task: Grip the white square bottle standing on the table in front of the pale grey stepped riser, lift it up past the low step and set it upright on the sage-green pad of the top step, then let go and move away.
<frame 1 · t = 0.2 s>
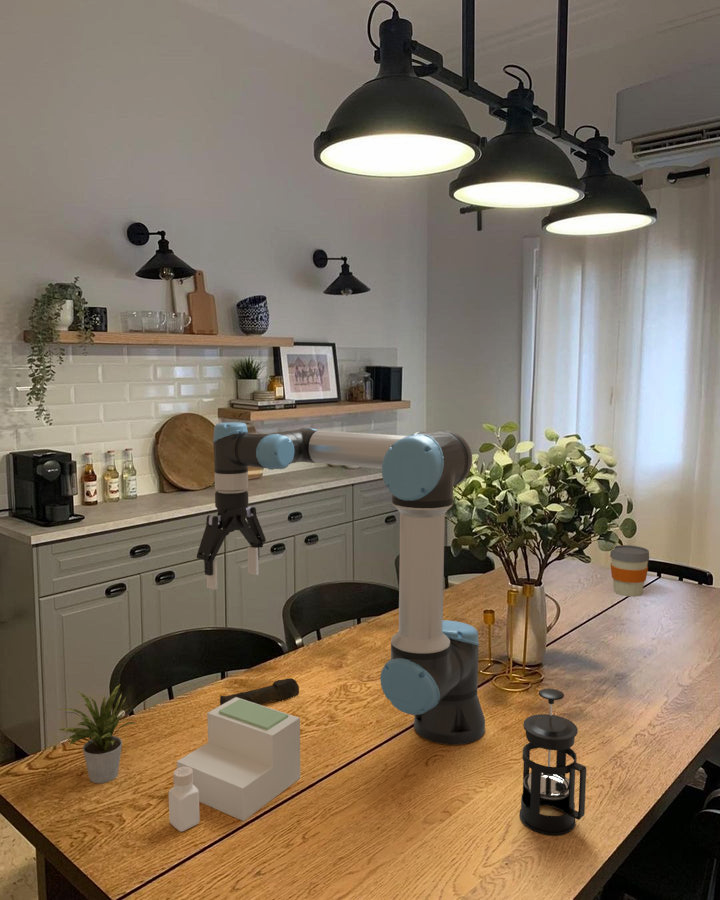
hand: (233, 581, 173), 28 cm above the table, tool pointing down, fingers open, 13 cm apart
reusable coffee cup: (627, 593, 256), on the table
french press: (549, 821, 129), on the table
white square bottle: (184, 824, 128), on the table
stepped riser: (240, 784, 140), on the table
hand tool: (260, 704, 173), on the table
house plant: (103, 773, 144), on the table
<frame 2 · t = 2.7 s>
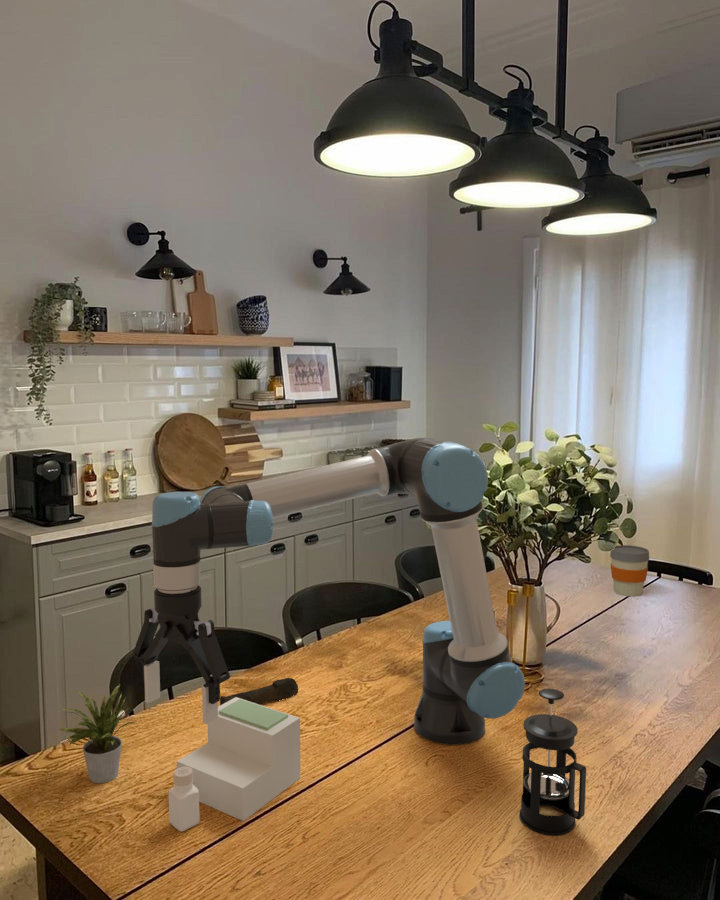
hand: (180, 710, 126), 20 cm above the table, tool pointing down, fingers open, 13 cm apart
nothing on the table moved.
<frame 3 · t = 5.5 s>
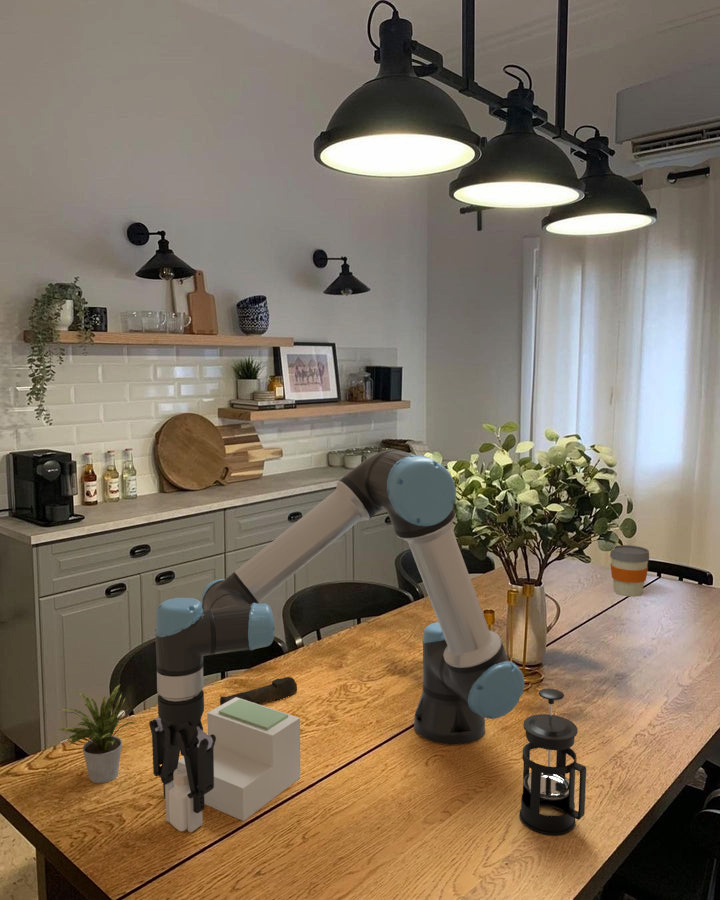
hand: (184, 822, 128), 0 cm above the table, tool pointing down, fingers closed on white square bottle, 4 cm apart
white square bottle: (184, 824, 128), on the table, touching gripper
everything else where it was.
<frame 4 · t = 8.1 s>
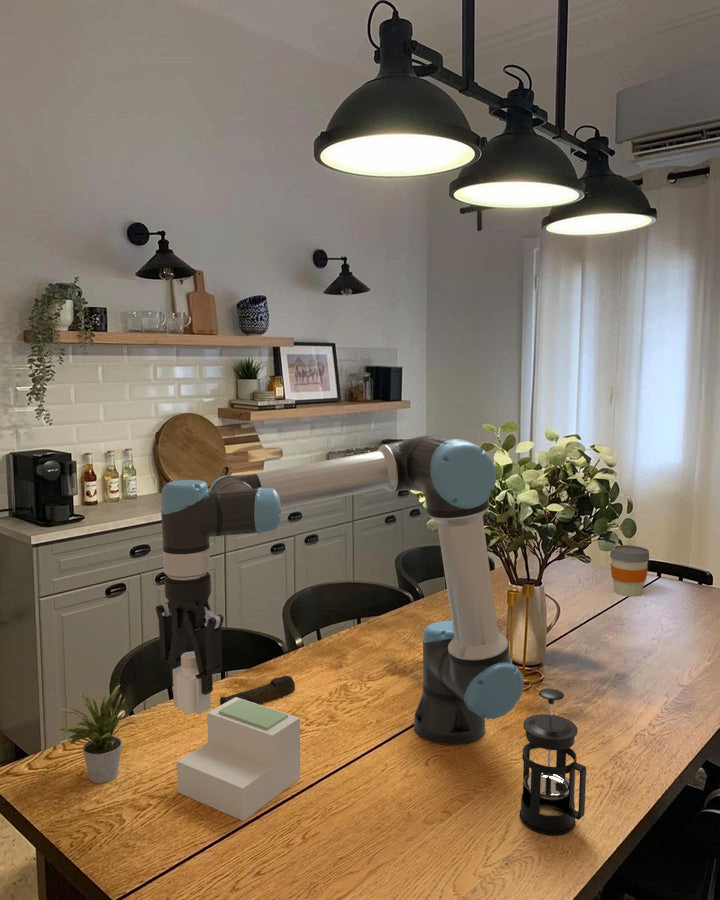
hand: (192, 706, 127), 20 cm above the table, tool pointing down, fingers closed on white square bottle, 4 cm apart
white square bottle: (192, 709, 127), point 20 cm above the table, touching gripper
everything else where it was.
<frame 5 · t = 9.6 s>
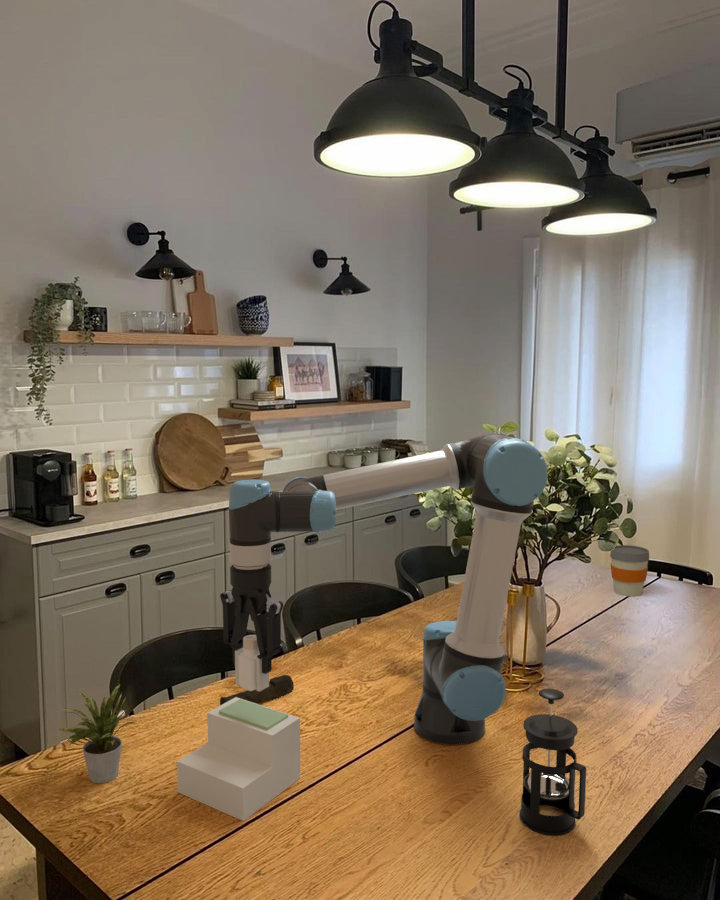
hand: (252, 684, 141), 18 cm above the table, tool pointing down, fingers closed on white square bottle, 4 cm apart
white square bottle: (252, 687, 141), point 18 cm above the table, touching gripper
when the fingers open (14 cm above the table, at t = 10.8 s): white square bottle drops 1 cm, resting on stepped riser.
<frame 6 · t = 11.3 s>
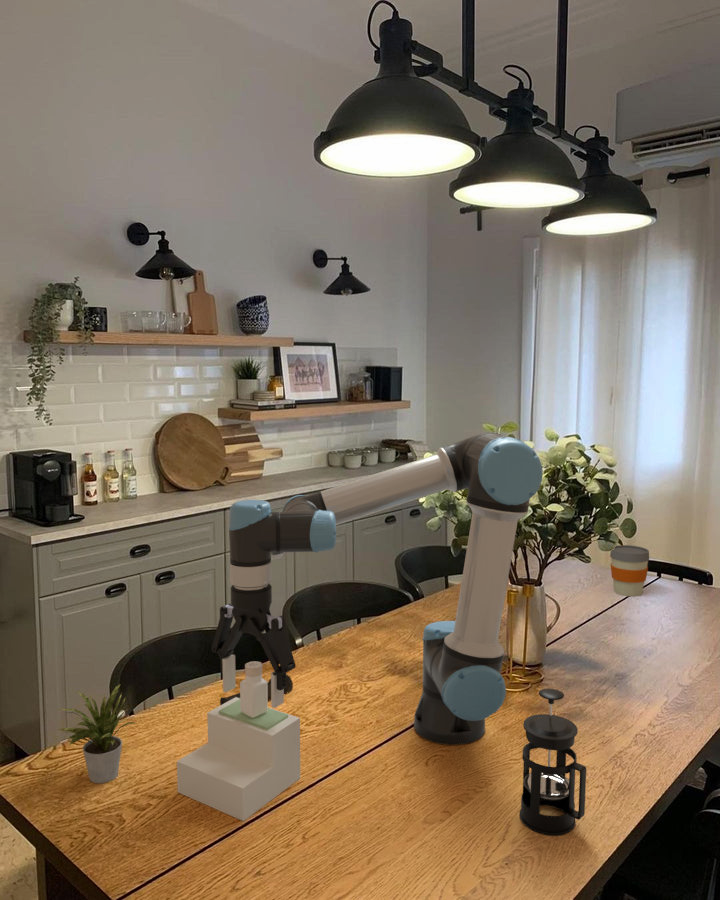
hand: (252, 697, 141), 16 cm above the table, tool pointing down, fingers open, 11 cm apart
white square bottle: (254, 713, 141), point 12 cm above the table, touching stepped riser
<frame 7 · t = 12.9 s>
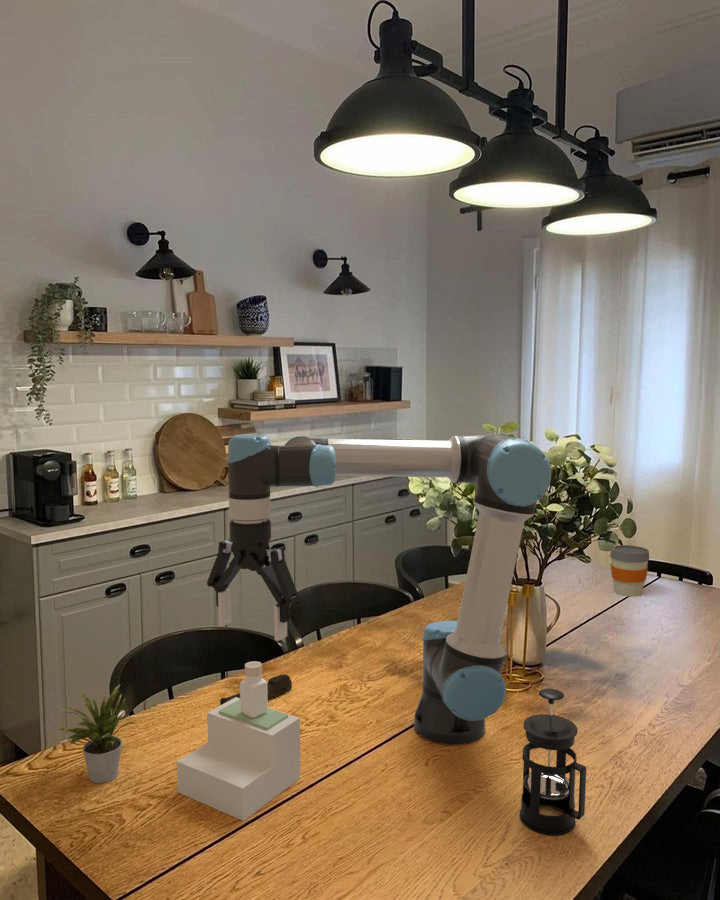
hand: (252, 631, 140), 28 cm above the table, tool pointing down, fingers open, 13 cm apart
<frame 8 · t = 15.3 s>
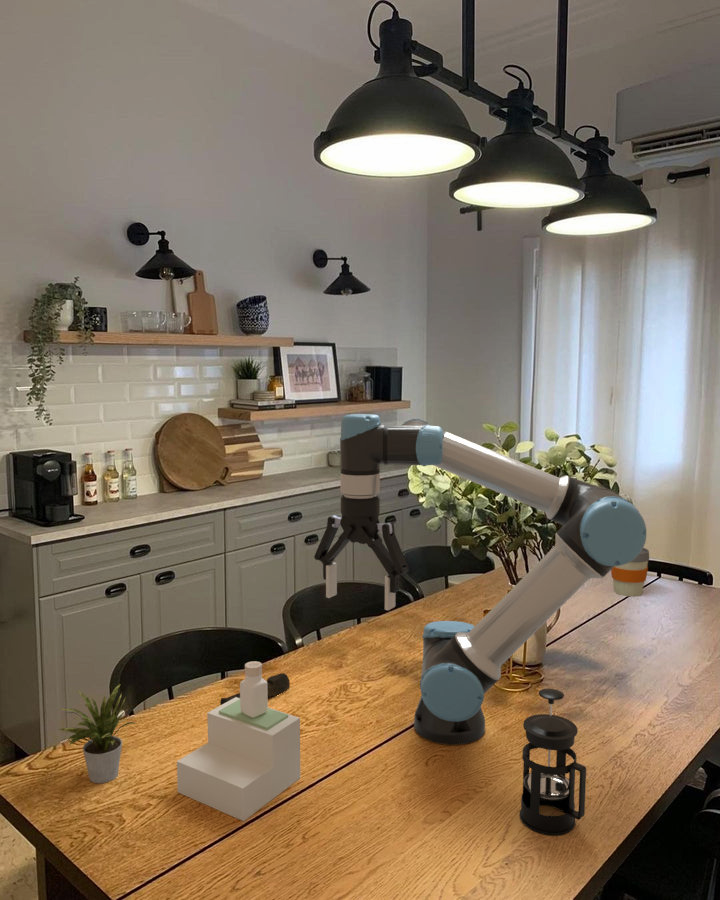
hand: (360, 602, 146), 32 cm above the table, tool pointing down, fingers open, 13 cm apart
at the end: white square bottle inside the target area on the stepped riser (0.1 cm from its centre), point 12.3 cm above the stepped riser's base; white square bottle tilted 0°; the gripper is holding nothing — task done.
